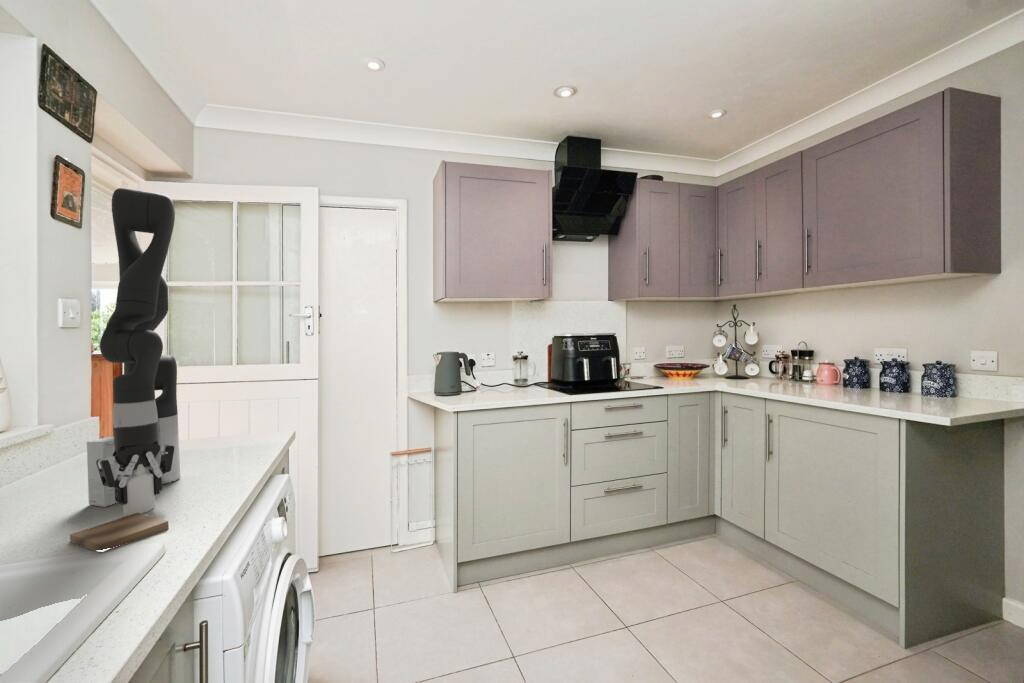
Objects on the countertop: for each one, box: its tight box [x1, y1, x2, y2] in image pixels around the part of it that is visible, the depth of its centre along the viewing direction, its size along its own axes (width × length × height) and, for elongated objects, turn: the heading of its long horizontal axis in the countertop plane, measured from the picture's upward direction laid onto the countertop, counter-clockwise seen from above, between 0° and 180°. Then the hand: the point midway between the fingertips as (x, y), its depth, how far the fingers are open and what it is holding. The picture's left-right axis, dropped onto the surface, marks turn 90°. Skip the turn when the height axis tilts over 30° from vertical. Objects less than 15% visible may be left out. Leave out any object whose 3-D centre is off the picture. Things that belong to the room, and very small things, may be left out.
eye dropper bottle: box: [122, 464, 156, 517], centre depth 101 cm, size 4×6×12 cm
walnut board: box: [69, 513, 169, 551], centre depth 90 cm, size 11×11×2 cm
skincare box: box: [86, 436, 132, 508], centre depth 109 cm, size 8×6×15 cm
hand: (139, 498), depth 101 cm, fingers closed on eye dropper bottle, 5 cm apart
